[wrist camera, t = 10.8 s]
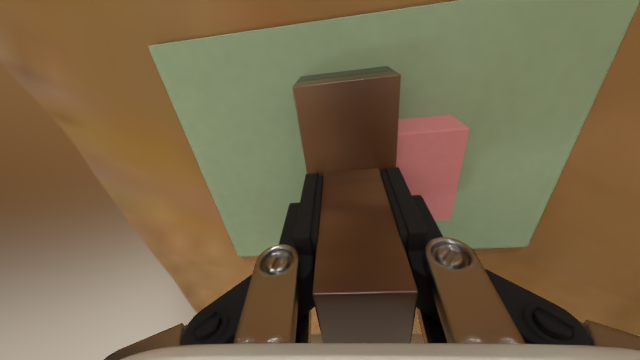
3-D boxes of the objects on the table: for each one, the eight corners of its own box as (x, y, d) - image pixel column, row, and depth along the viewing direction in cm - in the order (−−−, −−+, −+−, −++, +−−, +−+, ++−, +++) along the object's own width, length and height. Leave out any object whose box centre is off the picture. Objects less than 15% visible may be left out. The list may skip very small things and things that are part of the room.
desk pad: (642, -27, 9) (654, -29, 9) (523, 242, 16) (527, 247, 16) (152, 45, 11) (147, 45, 11) (239, 252, 19) (237, 256, 18)
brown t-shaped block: (323, 234, 16) (314, 394, 9) (299, 76, 11) (235, 158, 4) (384, 231, 16) (424, 397, 9) (388, 65, 11) (497, 136, 4)
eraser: (385, 200, 15) (391, 222, 13) (387, 120, 12) (395, 134, 10) (437, 197, 14) (450, 220, 13) (450, 113, 12) (470, 128, 10)
